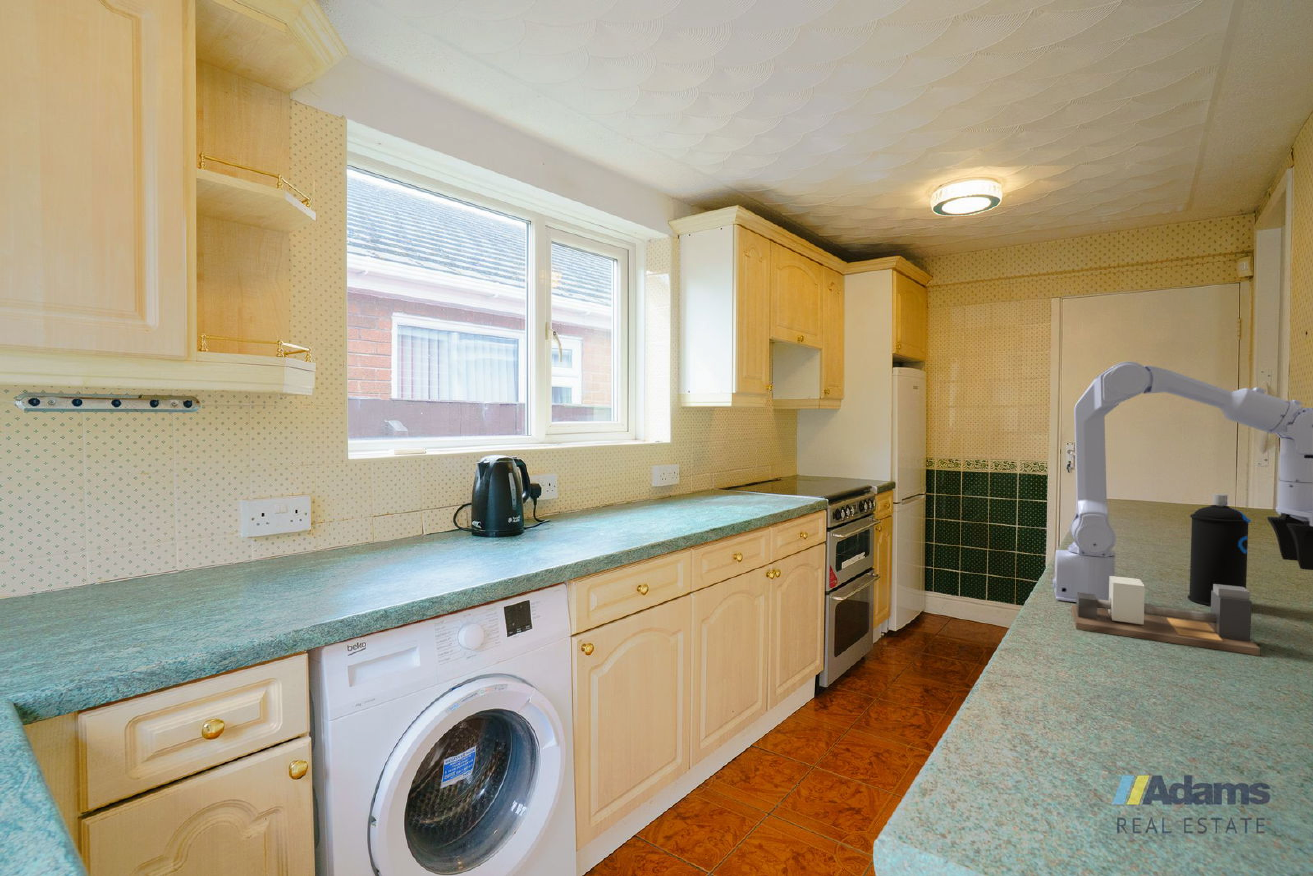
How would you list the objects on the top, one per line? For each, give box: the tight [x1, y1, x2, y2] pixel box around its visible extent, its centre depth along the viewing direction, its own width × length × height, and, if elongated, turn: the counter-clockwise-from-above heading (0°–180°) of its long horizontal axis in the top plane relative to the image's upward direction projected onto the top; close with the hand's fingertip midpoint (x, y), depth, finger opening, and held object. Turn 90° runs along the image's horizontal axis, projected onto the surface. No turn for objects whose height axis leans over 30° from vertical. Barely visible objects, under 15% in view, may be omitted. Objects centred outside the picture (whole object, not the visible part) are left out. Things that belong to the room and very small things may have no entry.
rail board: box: [1070, 592, 1261, 656], centre depth 99 cm, size 22×11×4 cm, turn 60°
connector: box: [1209, 584, 1253, 642], centre depth 94 cm, size 4×5×7 cm
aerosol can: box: [1187, 493, 1251, 607], centre depth 114 cm, size 8×8×20 cm
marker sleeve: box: [1108, 575, 1146, 624], centre depth 101 cm, size 4×5×6 cm
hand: (1300, 564), depth 101 cm, fingers open, 7 cm apart
